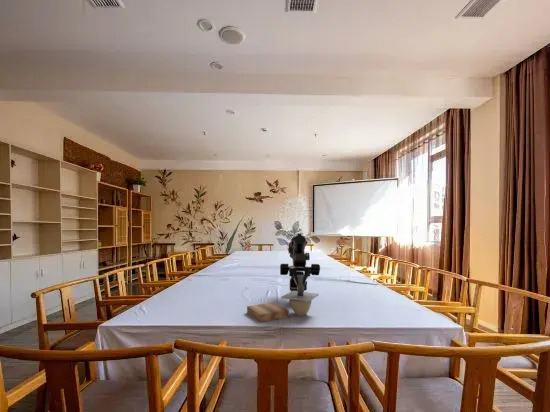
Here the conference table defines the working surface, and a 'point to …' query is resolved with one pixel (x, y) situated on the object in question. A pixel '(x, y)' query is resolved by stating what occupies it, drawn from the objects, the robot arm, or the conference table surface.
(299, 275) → the robot arm
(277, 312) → the stand
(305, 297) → the cover
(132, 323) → the conference table surface
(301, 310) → the flower pot
